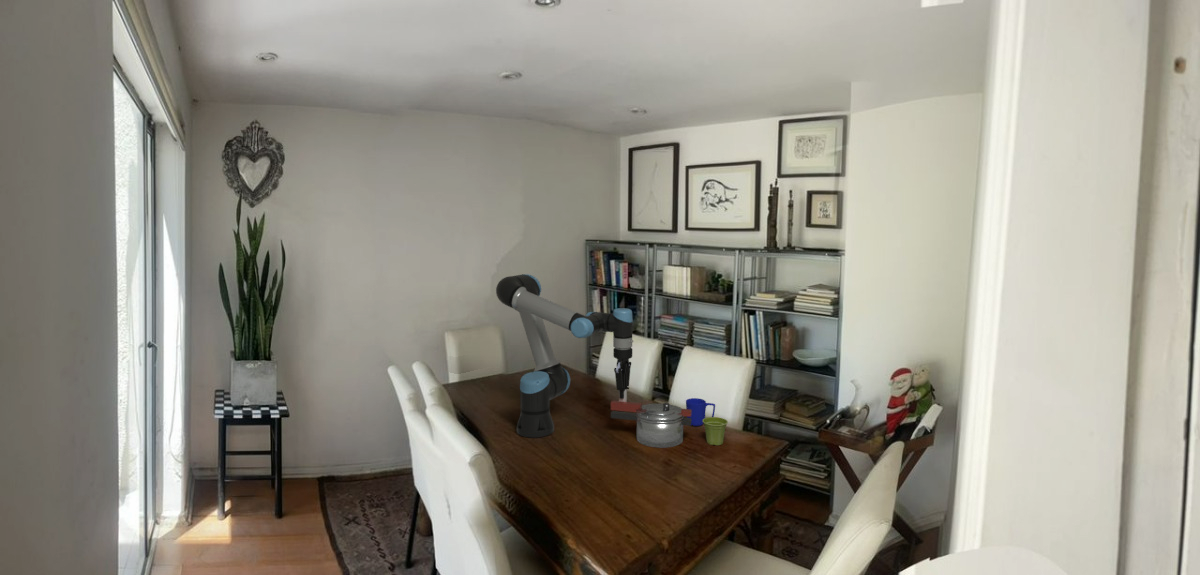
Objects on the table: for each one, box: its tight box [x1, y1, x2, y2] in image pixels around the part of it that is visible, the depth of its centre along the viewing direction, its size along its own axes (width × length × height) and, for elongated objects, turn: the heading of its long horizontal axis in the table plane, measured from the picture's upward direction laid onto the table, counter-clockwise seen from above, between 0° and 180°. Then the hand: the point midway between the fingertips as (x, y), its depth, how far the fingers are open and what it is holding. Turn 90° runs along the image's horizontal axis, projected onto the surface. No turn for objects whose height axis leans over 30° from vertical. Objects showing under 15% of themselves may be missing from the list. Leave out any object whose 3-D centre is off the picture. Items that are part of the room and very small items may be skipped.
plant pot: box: [703, 416, 728, 446], centre depth 220 cm, size 9×9×9 cm
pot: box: [610, 410, 692, 449], centre depth 226 cm, size 32×18×10 cm, turn 73°
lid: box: [610, 400, 692, 421], centre depth 225 cm, size 32×19×4 cm, turn 73°
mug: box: [685, 397, 716, 427], centre depth 241 cm, size 8×12×10 cm
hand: (622, 405), depth 230 cm, fingers closed
